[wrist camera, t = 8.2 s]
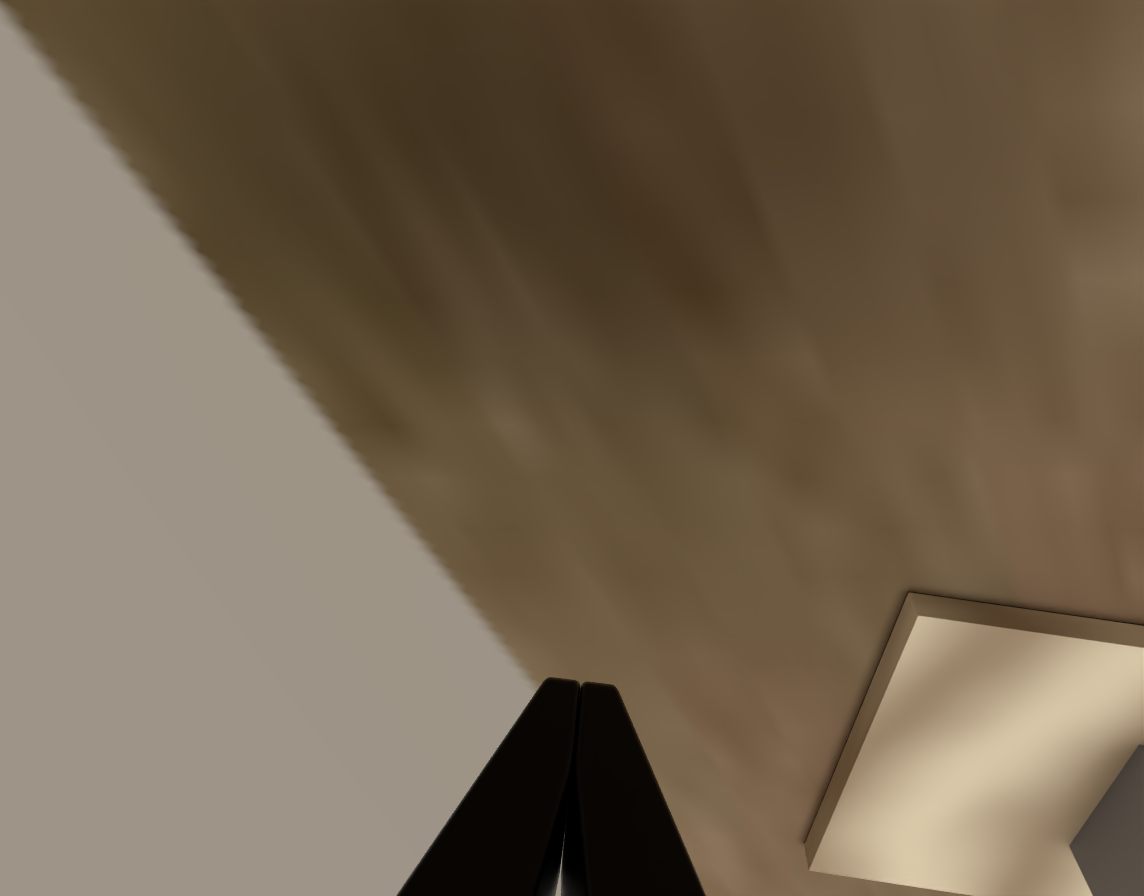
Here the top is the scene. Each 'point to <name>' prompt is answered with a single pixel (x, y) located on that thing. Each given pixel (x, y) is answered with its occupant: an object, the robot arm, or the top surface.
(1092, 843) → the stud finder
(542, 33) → the top surface
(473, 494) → the top surface
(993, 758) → the board
